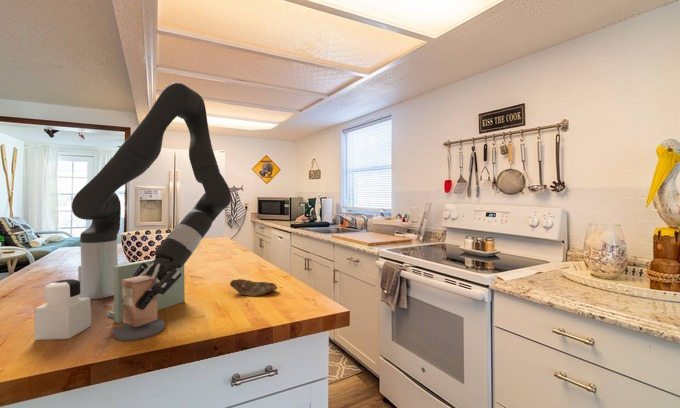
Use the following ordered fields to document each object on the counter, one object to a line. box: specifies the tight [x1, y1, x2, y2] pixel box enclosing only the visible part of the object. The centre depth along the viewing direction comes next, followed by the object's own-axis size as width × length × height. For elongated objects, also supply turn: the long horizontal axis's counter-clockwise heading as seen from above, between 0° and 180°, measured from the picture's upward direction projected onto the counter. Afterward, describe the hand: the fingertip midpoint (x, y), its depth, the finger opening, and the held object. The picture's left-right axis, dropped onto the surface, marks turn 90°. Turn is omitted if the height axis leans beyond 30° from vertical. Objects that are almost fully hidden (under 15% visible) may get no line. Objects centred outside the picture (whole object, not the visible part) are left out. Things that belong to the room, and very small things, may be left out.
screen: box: [107, 258, 186, 324], centre depth 88 cm, size 18×7×14 cm, turn 152°
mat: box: [113, 318, 166, 342], centre depth 74 cm, size 10×10×1 cm
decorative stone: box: [229, 278, 278, 298], centre depth 104 cm, size 10×4×15 cm
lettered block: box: [122, 275, 159, 327], centre depth 74 cm, size 5×5×10 cm
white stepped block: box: [33, 278, 92, 341], centre depth 73 cm, size 7×7×12 cm
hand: (131, 305), depth 72 cm, fingers closed on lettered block, 5 cm apart
